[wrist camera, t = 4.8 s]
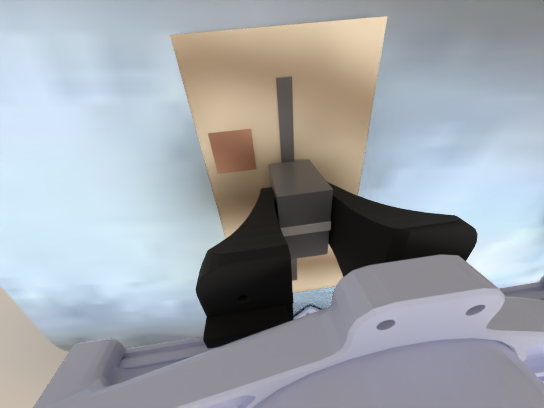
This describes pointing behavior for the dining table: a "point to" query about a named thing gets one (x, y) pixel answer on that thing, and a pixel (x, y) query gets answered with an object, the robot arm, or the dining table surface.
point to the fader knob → (302, 207)
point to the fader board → (282, 112)
